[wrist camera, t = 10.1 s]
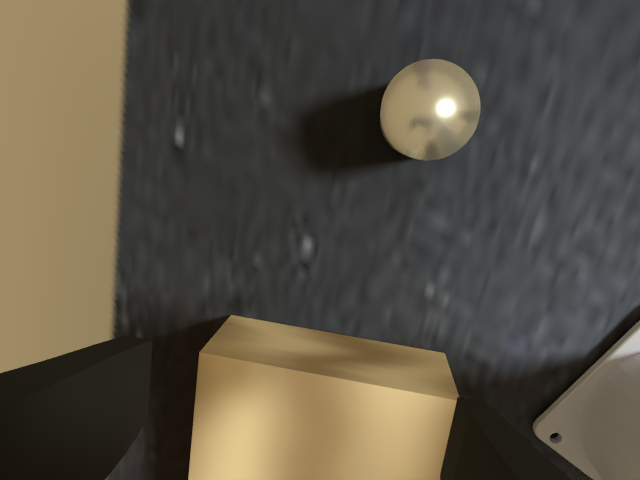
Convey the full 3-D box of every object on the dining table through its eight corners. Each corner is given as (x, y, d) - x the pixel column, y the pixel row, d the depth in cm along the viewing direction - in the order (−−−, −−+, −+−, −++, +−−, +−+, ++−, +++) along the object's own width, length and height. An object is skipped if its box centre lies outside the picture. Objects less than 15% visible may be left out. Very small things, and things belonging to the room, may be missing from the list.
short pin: (475, 108, 19) (501, 100, 15) (424, 172, 19) (436, 179, 15) (413, 60, 19) (423, 37, 15) (364, 126, 19) (360, 121, 15)
